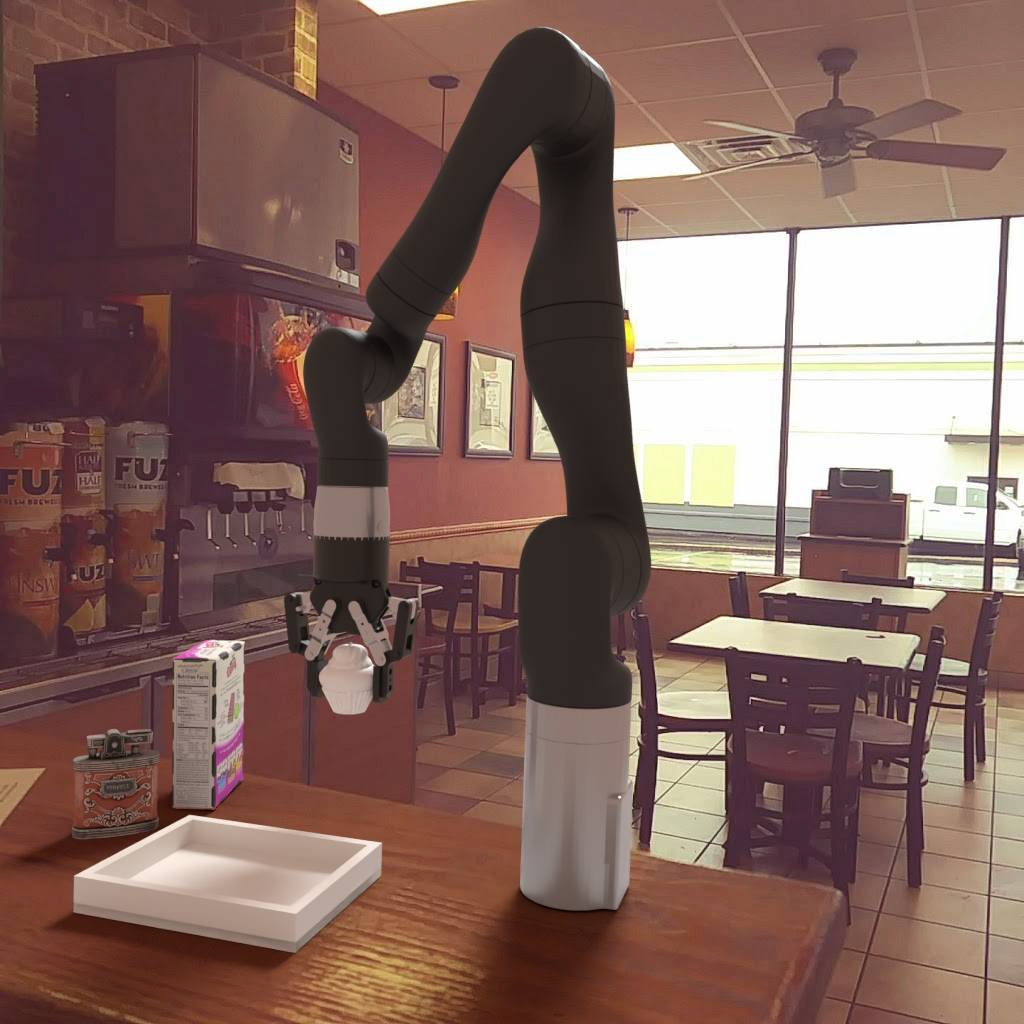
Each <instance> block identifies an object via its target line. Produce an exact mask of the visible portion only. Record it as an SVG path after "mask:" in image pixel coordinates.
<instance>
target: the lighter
mask: <svg viewBox="0 0 1024 1024" xmlns="http://www.w3.org/2000/svg"><path fill="white" fill-rule="evenodd" d="M153 741H154V732H153V731H152V729H150V728H144V729H129V730H127V731H126V732H120V731H119V730H118V729H116V728H112V729H108V730H107V731H106V732H105V734H93V735H87V736H86V747H87V753H88V754H87V755H86V754H85V755H79V756H76V757H75V758H73V760H72V761H73V763H72V766H73V767H72V768H73V769H74V807H73V808H74V811H73V813H74V818H73V821H74V822H73V823H74V824H73V825H72V828H71V837H72V838H73V839H77V840H88V839H90V840H92V839H102V838H103V839H104V838H112V837H114V838H115V837H122V836H127V835H128V836H129V835H134V834H141V833H146V832H151V831H154V829H155V830H156V828H157V827H158V828H159V821H160V820H159V816H158V782H159V780H158V779H159V778H158V776H159V775H158V774H159V772H158V771H159V762H160V761H161V760H160V759H161V752H160V751H159V750H155V749H140V748H141V747H140V745H143V744H152V743H153ZM125 746H130V750H127V749H126V748H125ZM98 750H99V753H98ZM158 828H157V829H158ZM152 829H153V830H152ZM150 830H151V831H150ZM140 832H141V833H140Z"/></svg>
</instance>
